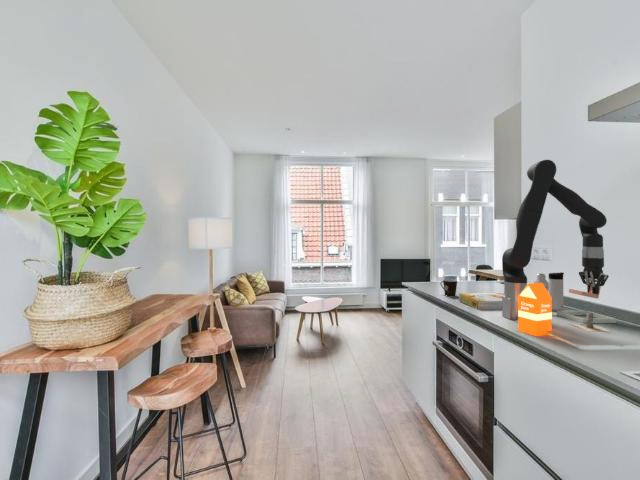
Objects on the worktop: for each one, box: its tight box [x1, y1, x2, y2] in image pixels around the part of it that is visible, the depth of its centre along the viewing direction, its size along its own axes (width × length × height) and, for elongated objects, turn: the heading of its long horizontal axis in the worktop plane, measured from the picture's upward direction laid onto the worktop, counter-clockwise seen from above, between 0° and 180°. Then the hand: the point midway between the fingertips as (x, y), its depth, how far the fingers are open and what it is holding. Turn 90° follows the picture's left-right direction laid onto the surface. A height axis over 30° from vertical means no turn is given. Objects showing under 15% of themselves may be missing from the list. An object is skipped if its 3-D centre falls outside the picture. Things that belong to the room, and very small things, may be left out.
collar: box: [568, 284, 602, 299], centre depth 140 cm, size 10×7×6 cm
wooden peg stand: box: [568, 312, 612, 332], centre depth 127 cm, size 10×10×7 cm
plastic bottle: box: [533, 273, 549, 291], centre depth 154 cm, size 6×7×20 cm
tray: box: [556, 310, 617, 324], centre depth 140 cm, size 15×15×3 cm
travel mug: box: [547, 272, 565, 313], centre depth 160 cm, size 6×7×20 cm
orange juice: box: [517, 282, 553, 337], centre depth 125 cm, size 8×9×20 cm
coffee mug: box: [440, 279, 458, 297], centre depth 204 cm, size 12×9×10 cm
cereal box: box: [458, 292, 504, 310], centre depth 175 cm, size 20×6×28 cm
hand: (593, 294), depth 140 cm, fingers closed on collar
